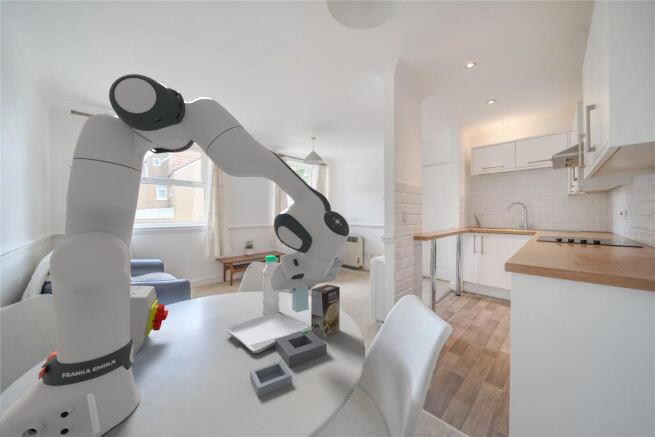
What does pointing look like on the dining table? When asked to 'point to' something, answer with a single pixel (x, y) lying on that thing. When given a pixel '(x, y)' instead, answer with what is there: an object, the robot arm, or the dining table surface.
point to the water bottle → (269, 287)
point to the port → (301, 354)
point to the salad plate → (264, 330)
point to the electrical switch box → (144, 314)
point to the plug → (300, 299)
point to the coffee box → (325, 310)
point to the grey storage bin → (270, 378)
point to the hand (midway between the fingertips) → (299, 289)
